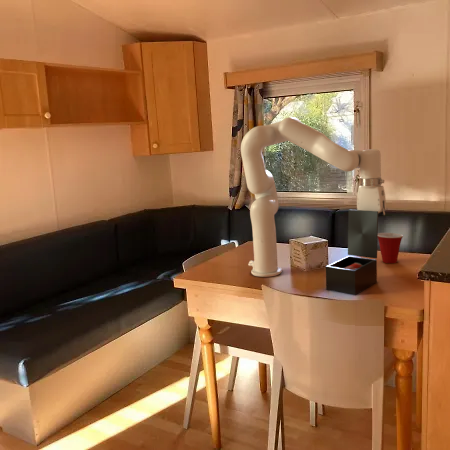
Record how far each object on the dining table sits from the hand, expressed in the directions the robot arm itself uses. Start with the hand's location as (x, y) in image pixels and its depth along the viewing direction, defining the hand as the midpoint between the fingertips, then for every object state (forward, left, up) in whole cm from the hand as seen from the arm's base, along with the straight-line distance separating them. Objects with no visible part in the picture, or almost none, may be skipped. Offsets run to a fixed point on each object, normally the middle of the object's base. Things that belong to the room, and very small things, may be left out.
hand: (371, 230), depth 190 cm
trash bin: (0, -16, -18) cm, 24 cm away
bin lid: (0, -7, 0) cm, 7 cm away
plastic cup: (-2, +21, -18) cm, 28 cm away
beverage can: (0, -17, -17) cm, 24 cm away
